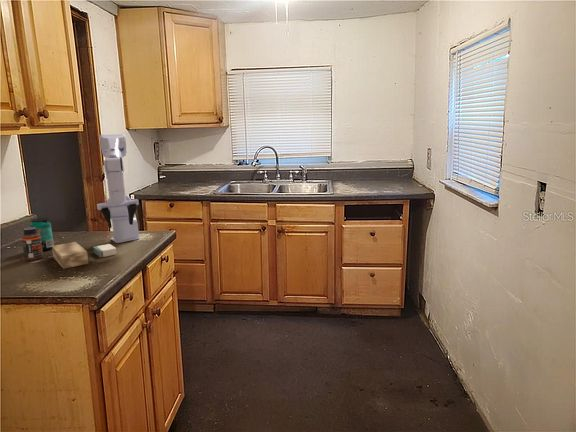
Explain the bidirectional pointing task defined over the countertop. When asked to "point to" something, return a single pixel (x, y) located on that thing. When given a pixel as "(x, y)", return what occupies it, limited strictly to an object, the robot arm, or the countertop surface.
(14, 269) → the countertop surface
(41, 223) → the beverage can
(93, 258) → the countertop surface
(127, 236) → the robot arm
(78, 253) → the tan rectangular block
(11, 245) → the countertop surface
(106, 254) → the white block
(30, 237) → the supplement bottle
